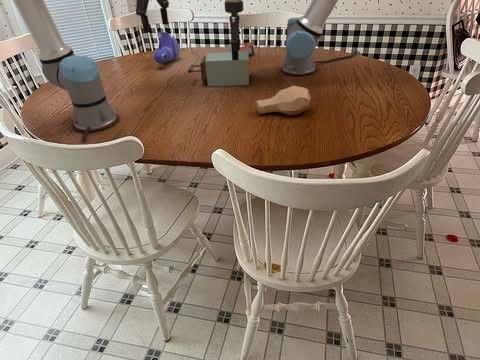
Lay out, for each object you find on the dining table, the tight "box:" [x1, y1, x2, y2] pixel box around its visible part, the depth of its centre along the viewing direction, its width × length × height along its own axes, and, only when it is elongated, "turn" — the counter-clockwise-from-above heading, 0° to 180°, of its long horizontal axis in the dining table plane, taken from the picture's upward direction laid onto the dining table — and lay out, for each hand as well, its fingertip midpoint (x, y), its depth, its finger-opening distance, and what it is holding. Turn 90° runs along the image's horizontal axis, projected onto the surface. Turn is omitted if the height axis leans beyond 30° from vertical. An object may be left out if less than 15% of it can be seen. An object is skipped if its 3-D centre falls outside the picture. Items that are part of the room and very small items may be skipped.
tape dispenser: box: [228, 42, 255, 57], centre depth 185 cm, size 18×5×20 cm
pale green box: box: [205, 51, 250, 87], centre depth 157 cm, size 18×11×11 cm, turn 88°
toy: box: [152, 31, 180, 69], centre depth 182 cm, size 10×17×25 cm
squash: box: [255, 85, 312, 116], centre depth 130 cm, size 11×20×9 cm, turn 92°
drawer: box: [187, 55, 207, 85], centre depth 158 cm, size 23×10×9 cm, turn 88°
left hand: (156, 28), depth 152 cm, fingers open, 13 cm apart
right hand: (236, 54), depth 154 cm, fingers open, 13 cm apart
